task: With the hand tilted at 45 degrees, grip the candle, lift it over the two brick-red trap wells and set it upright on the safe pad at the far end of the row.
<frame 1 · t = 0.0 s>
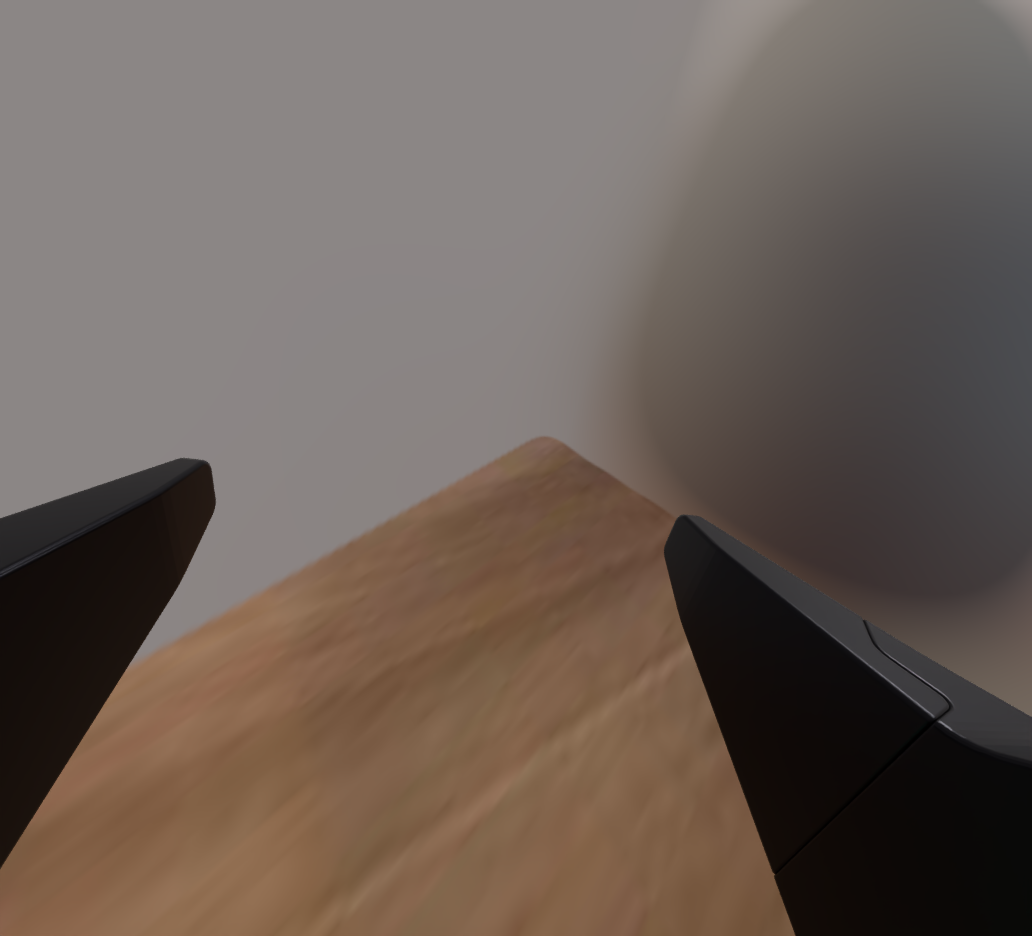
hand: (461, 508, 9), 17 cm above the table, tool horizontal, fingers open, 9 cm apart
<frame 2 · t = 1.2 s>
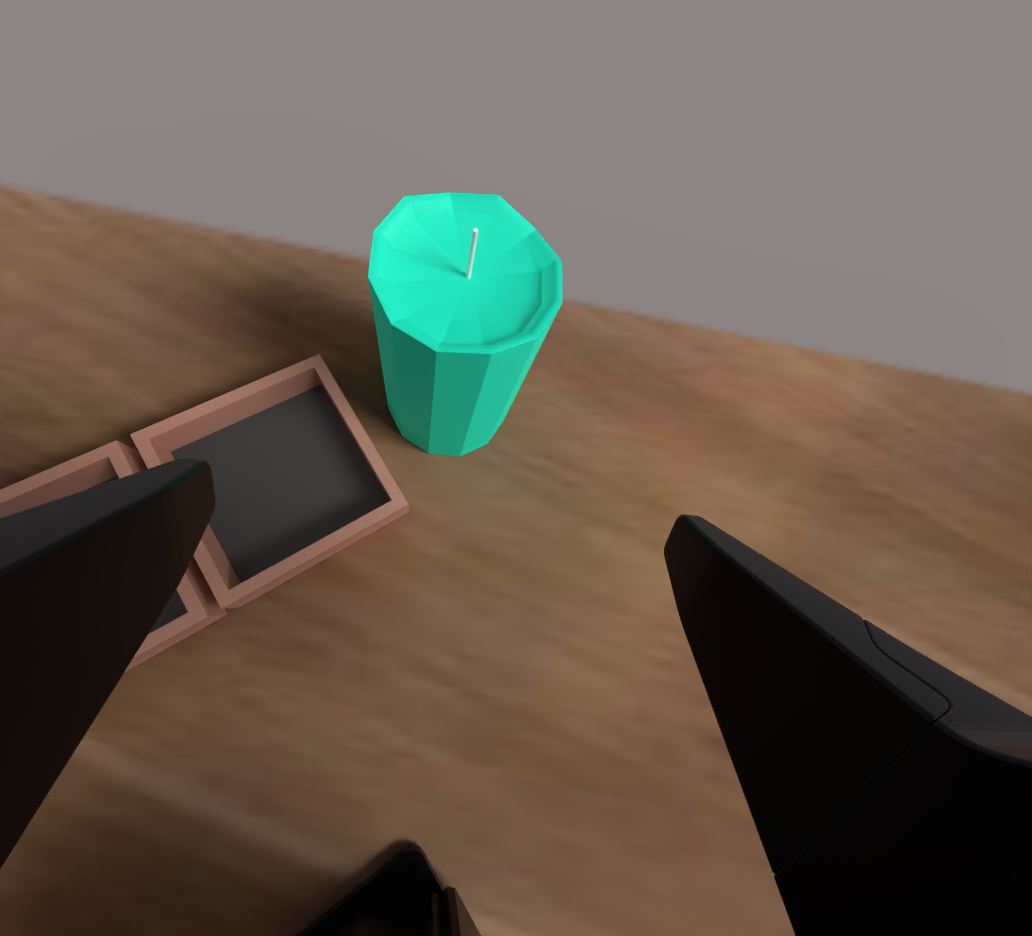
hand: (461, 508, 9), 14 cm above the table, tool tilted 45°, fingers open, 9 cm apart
trap wells: (190, 529, 20), on the table
candle: (447, 402, 24), on the table
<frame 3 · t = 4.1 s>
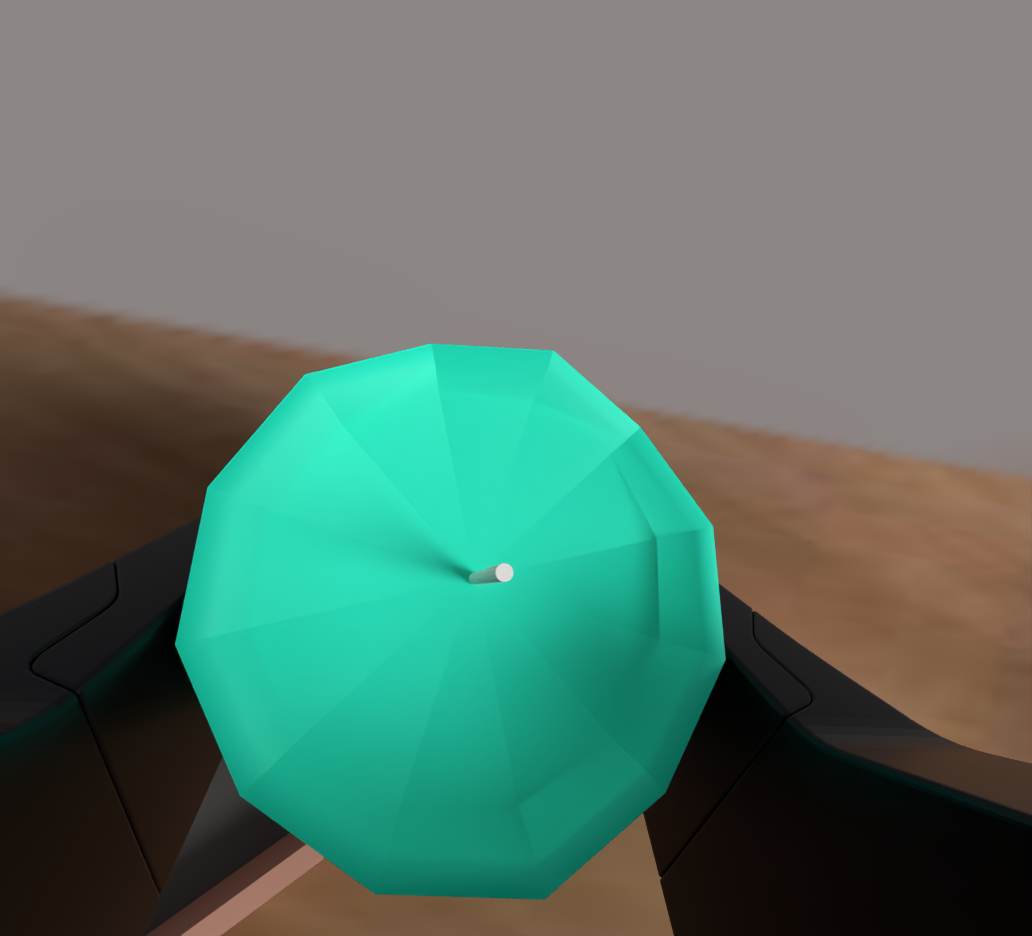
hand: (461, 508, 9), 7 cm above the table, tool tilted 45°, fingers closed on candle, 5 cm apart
candle: (437, 586, 15), on the table, touching gripper
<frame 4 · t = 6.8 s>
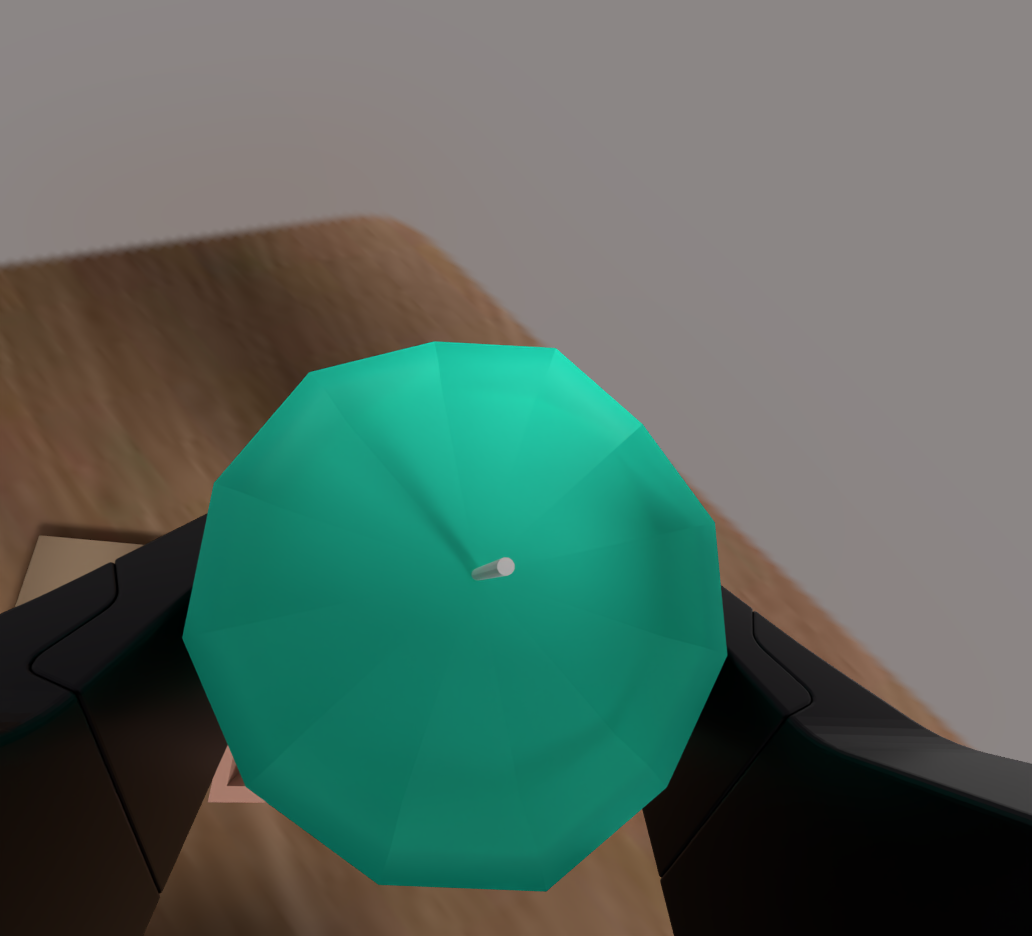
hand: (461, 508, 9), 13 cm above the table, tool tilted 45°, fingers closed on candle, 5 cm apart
safe pad: (133, 648, 19), on the table
trap wells: (454, 679, 21), on the table
candle: (441, 584, 15), point 6 cm above the table, touching gripper
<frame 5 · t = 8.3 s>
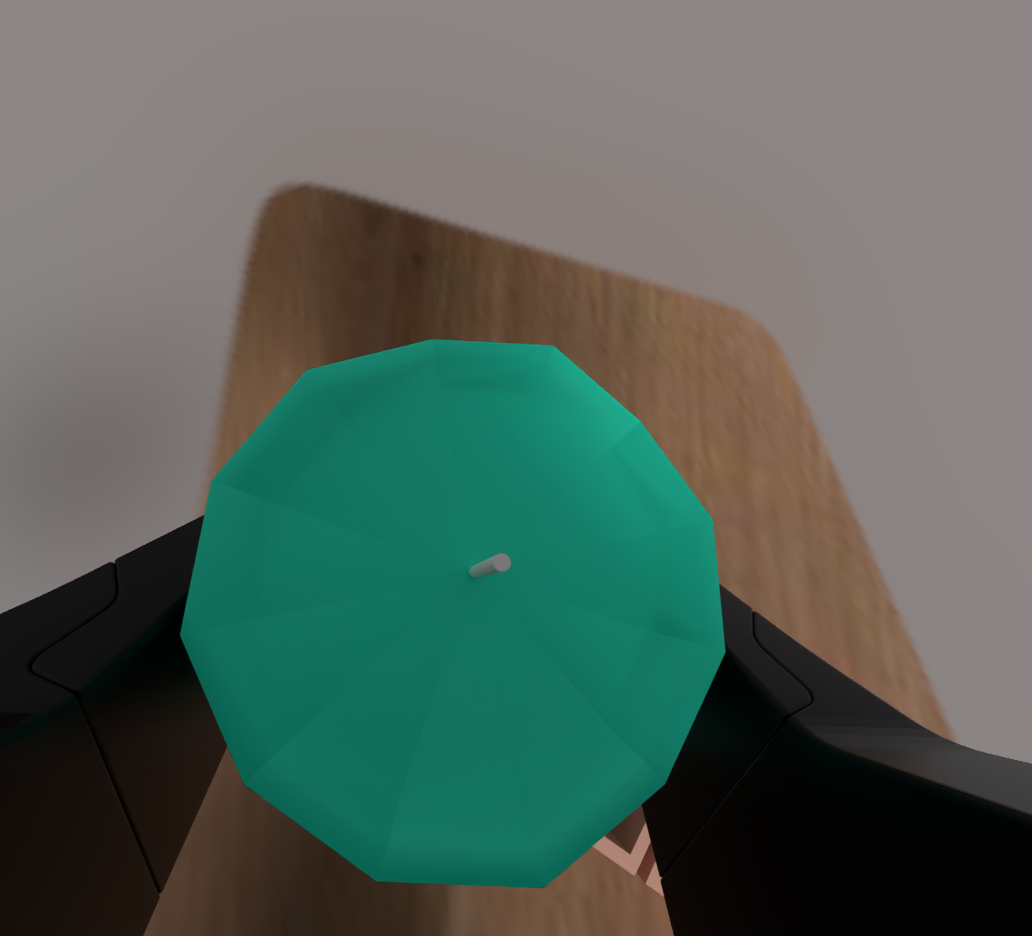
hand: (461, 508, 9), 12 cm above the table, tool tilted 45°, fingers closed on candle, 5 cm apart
trap wells: (662, 757, 21), on the table
candle: (441, 583, 15), point 5 cm above the table, touching gripper
when the fingers open (8 cm above the table, at t = 9.5 s): candle drops 1 cm, resting on safe pad.
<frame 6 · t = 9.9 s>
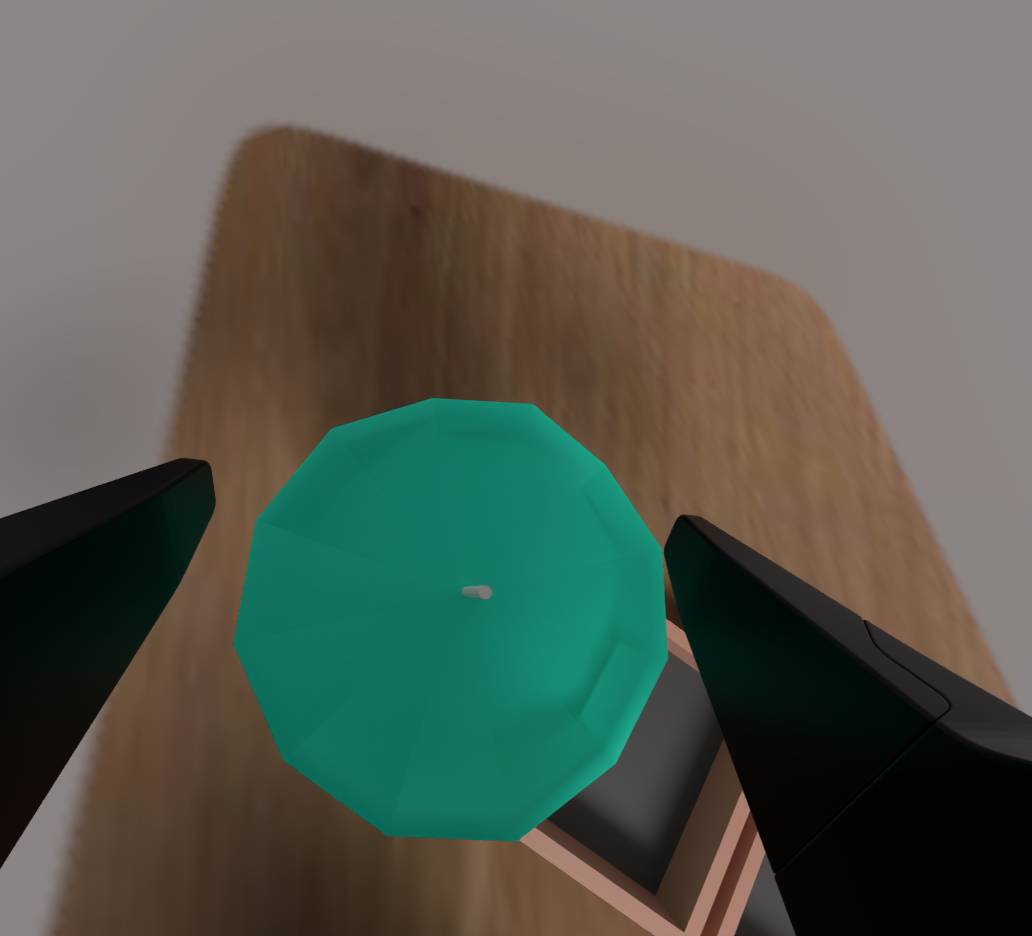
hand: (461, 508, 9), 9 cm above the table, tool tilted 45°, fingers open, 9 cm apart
trap wells: (713, 802, 17), on the table
candle: (438, 590, 17), resting on safe pad
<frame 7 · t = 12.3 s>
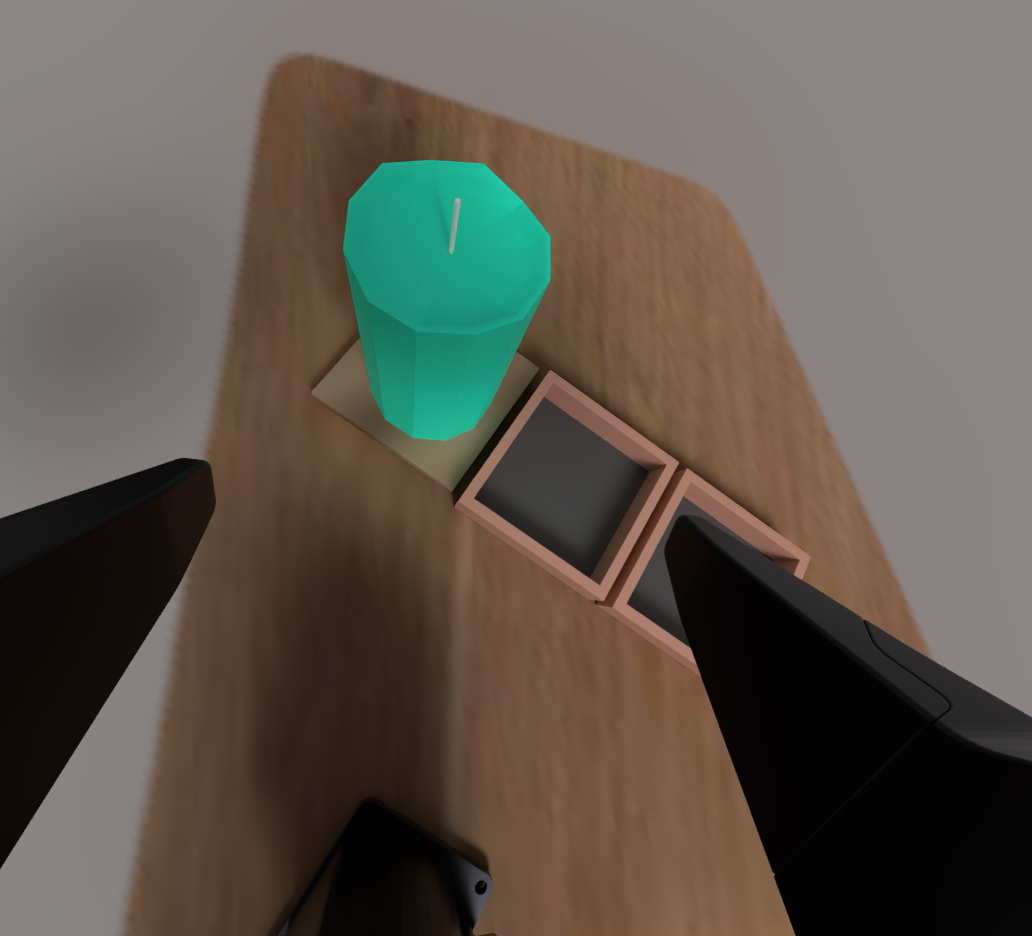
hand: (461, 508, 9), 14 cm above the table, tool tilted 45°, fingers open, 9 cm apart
safe pad: (431, 384, 24), on the table
trap wells: (629, 534, 25), on the table
candle: (433, 384, 24), resting on safe pad
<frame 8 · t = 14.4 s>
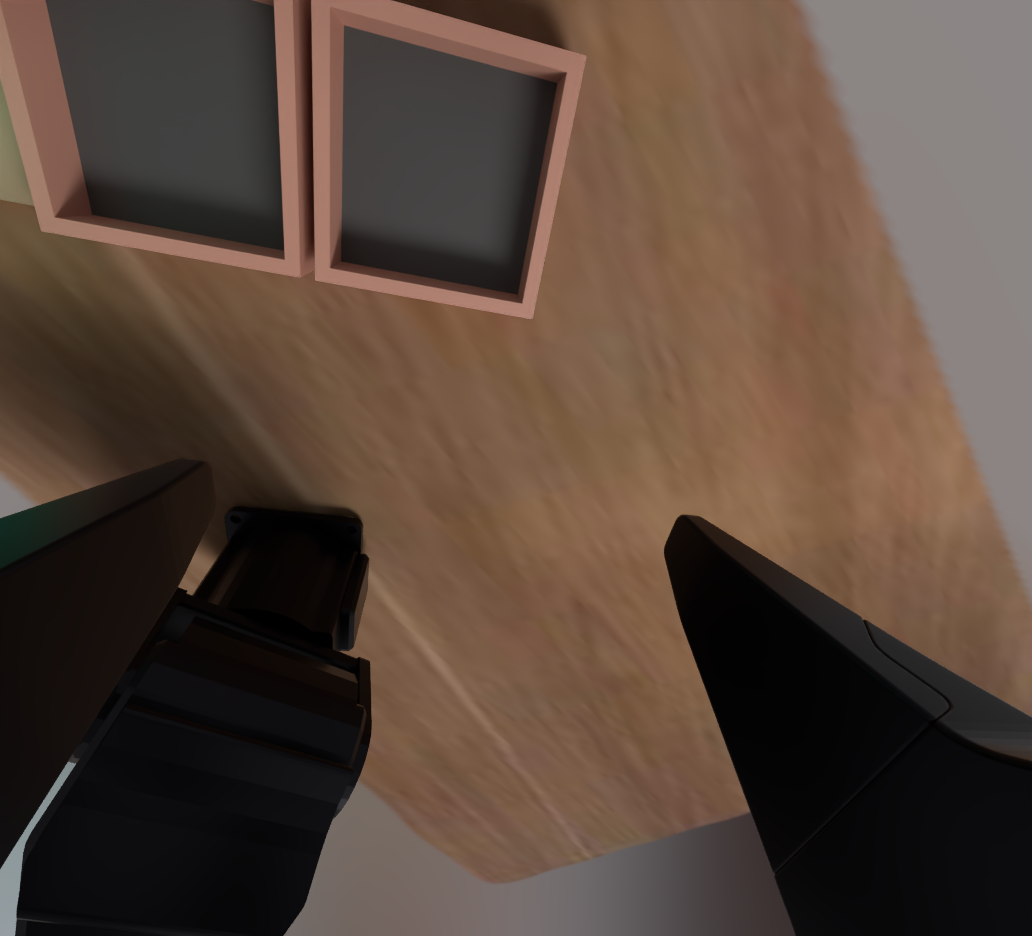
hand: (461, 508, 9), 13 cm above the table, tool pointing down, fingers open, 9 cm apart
trap wells: (321, 150, 17), on the table
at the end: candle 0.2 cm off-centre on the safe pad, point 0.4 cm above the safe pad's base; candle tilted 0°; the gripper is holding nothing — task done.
